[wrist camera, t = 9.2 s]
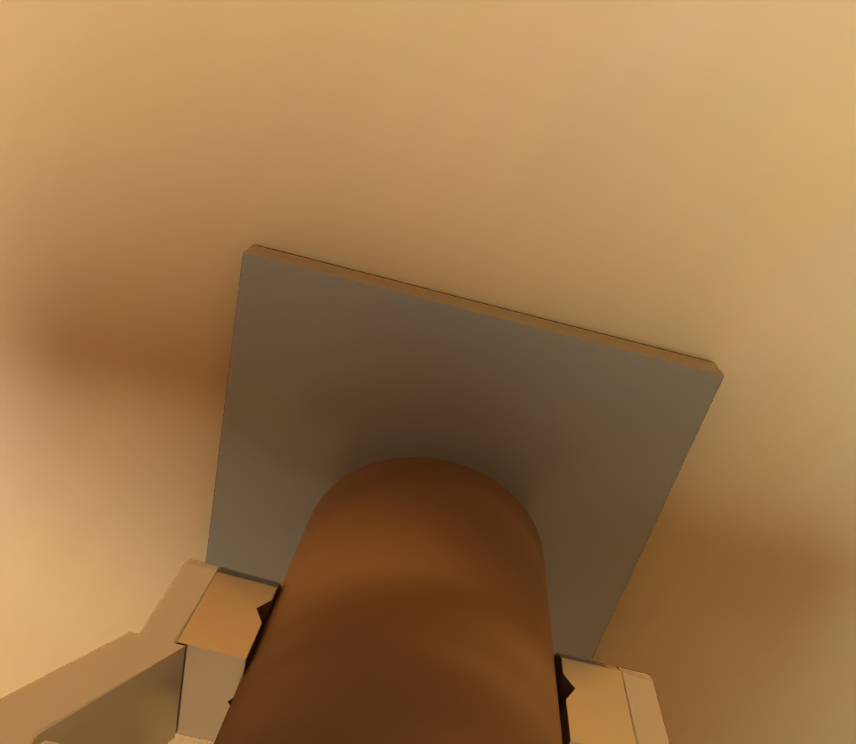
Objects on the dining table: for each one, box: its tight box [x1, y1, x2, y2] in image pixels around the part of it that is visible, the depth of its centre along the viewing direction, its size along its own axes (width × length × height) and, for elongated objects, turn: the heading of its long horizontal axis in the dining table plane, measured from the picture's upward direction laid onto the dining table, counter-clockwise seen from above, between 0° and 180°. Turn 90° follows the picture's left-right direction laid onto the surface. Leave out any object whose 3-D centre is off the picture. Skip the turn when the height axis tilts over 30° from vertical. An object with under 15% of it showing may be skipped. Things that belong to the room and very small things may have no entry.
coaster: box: [206, 245, 724, 661], centre depth 14 cm, size 9×9×1 cm
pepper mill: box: [214, 457, 563, 744], centre depth 9 cm, size 5×5×7 cm
